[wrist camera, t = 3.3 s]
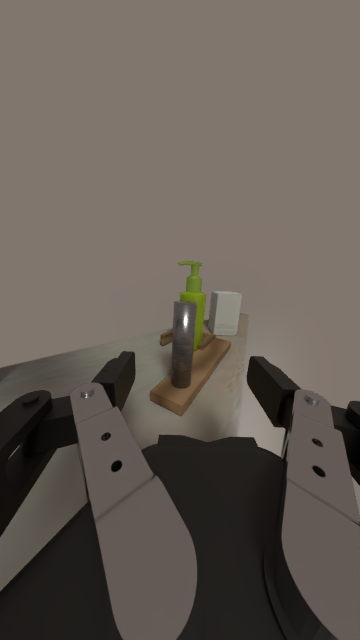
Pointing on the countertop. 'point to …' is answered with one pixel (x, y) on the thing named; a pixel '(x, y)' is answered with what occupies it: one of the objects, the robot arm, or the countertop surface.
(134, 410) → the countertop surface
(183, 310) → the base with upright cylinder
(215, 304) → the supplement box
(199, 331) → the soap dispenser
